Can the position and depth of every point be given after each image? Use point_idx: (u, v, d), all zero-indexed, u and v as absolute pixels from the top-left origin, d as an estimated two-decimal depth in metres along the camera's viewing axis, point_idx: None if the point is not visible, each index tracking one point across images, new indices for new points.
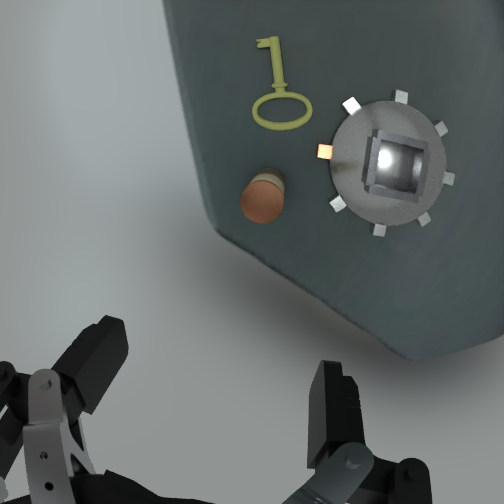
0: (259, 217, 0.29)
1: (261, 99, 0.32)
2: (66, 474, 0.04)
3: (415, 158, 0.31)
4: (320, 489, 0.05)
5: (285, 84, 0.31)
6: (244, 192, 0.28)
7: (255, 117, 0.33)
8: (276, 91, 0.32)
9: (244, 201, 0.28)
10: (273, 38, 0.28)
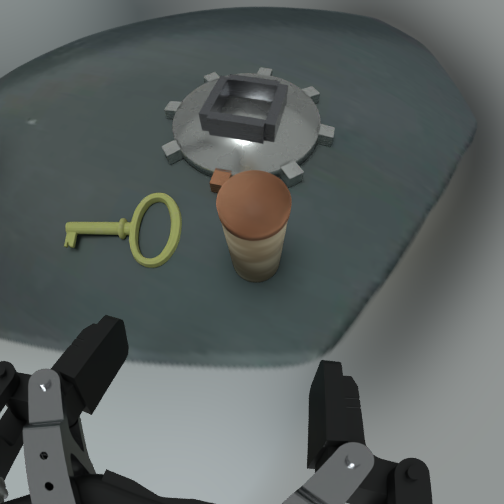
0: (279, 207, 0.16)
1: (133, 249, 0.25)
2: (66, 474, 0.04)
3: (240, 94, 0.30)
4: (320, 489, 0.05)
5: (122, 219, 0.26)
6: (230, 224, 0.16)
7: (155, 261, 0.25)
8: (128, 231, 0.26)
9: (246, 227, 0.16)
10: (67, 226, 0.25)
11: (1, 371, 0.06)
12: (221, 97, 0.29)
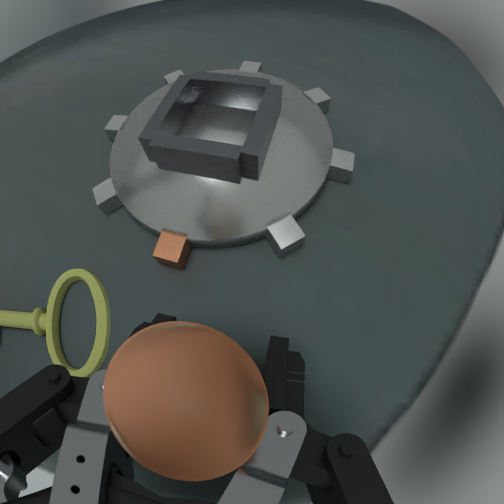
0: (239, 428, 0.06)
1: (52, 356, 0.15)
2: (98, 484, 0.04)
3: (210, 101, 0.20)
4: (262, 462, 0.06)
5: (35, 309, 0.16)
6: (132, 451, 0.06)
7: (80, 374, 0.15)
8: (45, 327, 0.16)
9: (165, 463, 0.06)
10: None
11: (54, 376, 0.07)
12: (179, 107, 0.18)
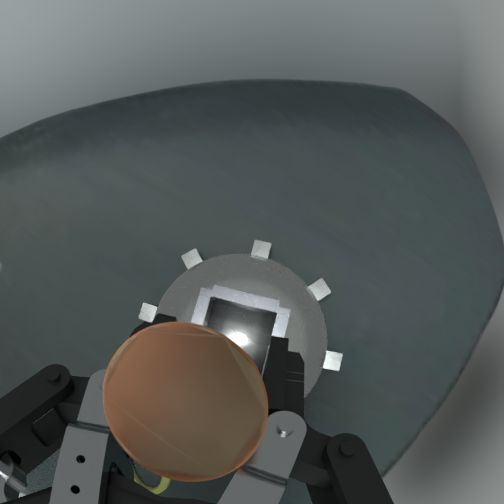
0: (239, 429, 0.06)
1: None
2: (98, 484, 0.04)
3: (229, 304, 0.26)
4: (262, 462, 0.06)
5: None
6: (131, 452, 0.06)
7: (157, 492, 0.21)
8: None
9: (164, 464, 0.06)
10: None
11: (54, 376, 0.07)
12: (205, 323, 0.25)
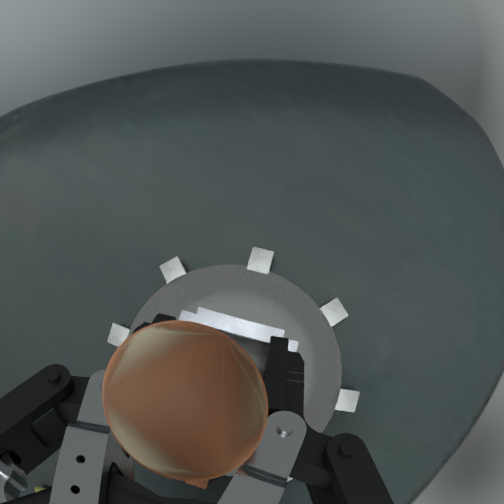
0: (239, 428, 0.06)
1: None
2: (98, 484, 0.04)
3: (218, 330, 0.20)
4: (262, 462, 0.06)
5: None
6: (131, 451, 0.06)
7: None
8: None
9: (164, 463, 0.06)
10: None
11: (54, 376, 0.07)
12: None
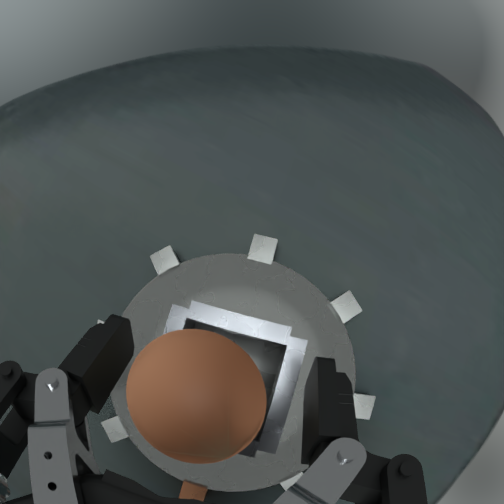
0: (242, 417, 0.07)
1: None
2: (70, 475, 0.04)
3: (215, 328, 0.18)
4: (314, 485, 0.06)
5: None
6: (151, 439, 0.07)
7: None
8: None
9: (179, 449, 0.07)
10: None
11: (7, 371, 0.07)
12: None
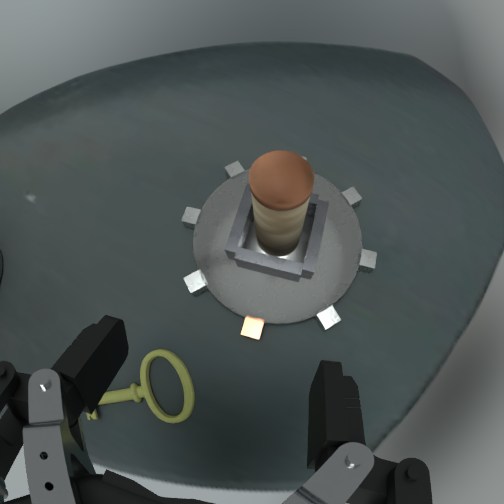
0: (304, 182, 0.18)
1: (156, 413, 0.23)
2: (66, 474, 0.04)
3: None
4: (320, 489, 0.05)
5: (131, 386, 0.24)
6: (261, 195, 0.18)
7: (181, 418, 0.23)
8: (143, 396, 0.24)
9: (275, 198, 0.18)
10: None
11: (1, 371, 0.06)
12: (249, 216, 0.27)
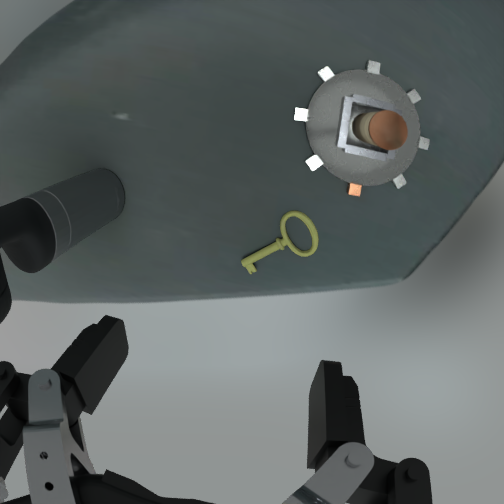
0: (402, 134, 0.25)
1: (297, 253, 0.44)
2: (66, 474, 0.04)
3: (359, 104, 0.33)
4: (320, 489, 0.05)
5: (277, 241, 0.43)
6: (378, 144, 0.26)
7: (313, 251, 0.44)
8: (286, 244, 0.44)
9: (386, 145, 0.26)
10: (244, 264, 0.45)
11: (1, 371, 0.06)
12: None
